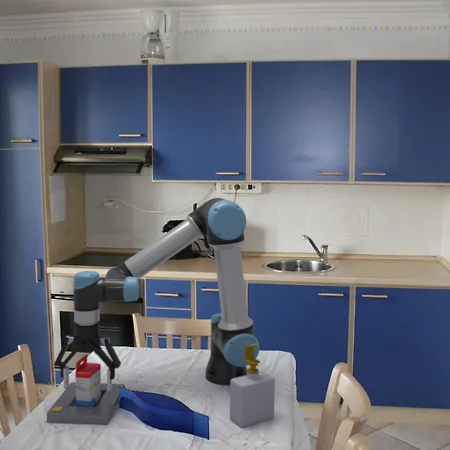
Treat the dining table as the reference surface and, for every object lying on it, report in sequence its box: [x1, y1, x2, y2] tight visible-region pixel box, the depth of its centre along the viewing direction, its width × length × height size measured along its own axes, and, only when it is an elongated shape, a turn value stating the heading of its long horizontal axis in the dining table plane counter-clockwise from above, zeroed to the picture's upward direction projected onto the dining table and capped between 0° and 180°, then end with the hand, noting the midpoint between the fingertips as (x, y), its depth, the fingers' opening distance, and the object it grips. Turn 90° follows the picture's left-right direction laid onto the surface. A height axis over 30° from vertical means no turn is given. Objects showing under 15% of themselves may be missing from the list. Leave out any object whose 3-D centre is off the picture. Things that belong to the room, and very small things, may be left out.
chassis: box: [46, 381, 126, 425], centre depth 171 cm, size 18×22×3 cm
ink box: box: [74, 353, 102, 407], centre depth 170 cm, size 8×5×15 cm, turn 170°
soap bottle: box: [229, 343, 276, 428], centre depth 163 cm, size 12×7×23 cm, turn 123°
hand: (88, 388), depth 170 cm, fingers open, 13 cm apart
